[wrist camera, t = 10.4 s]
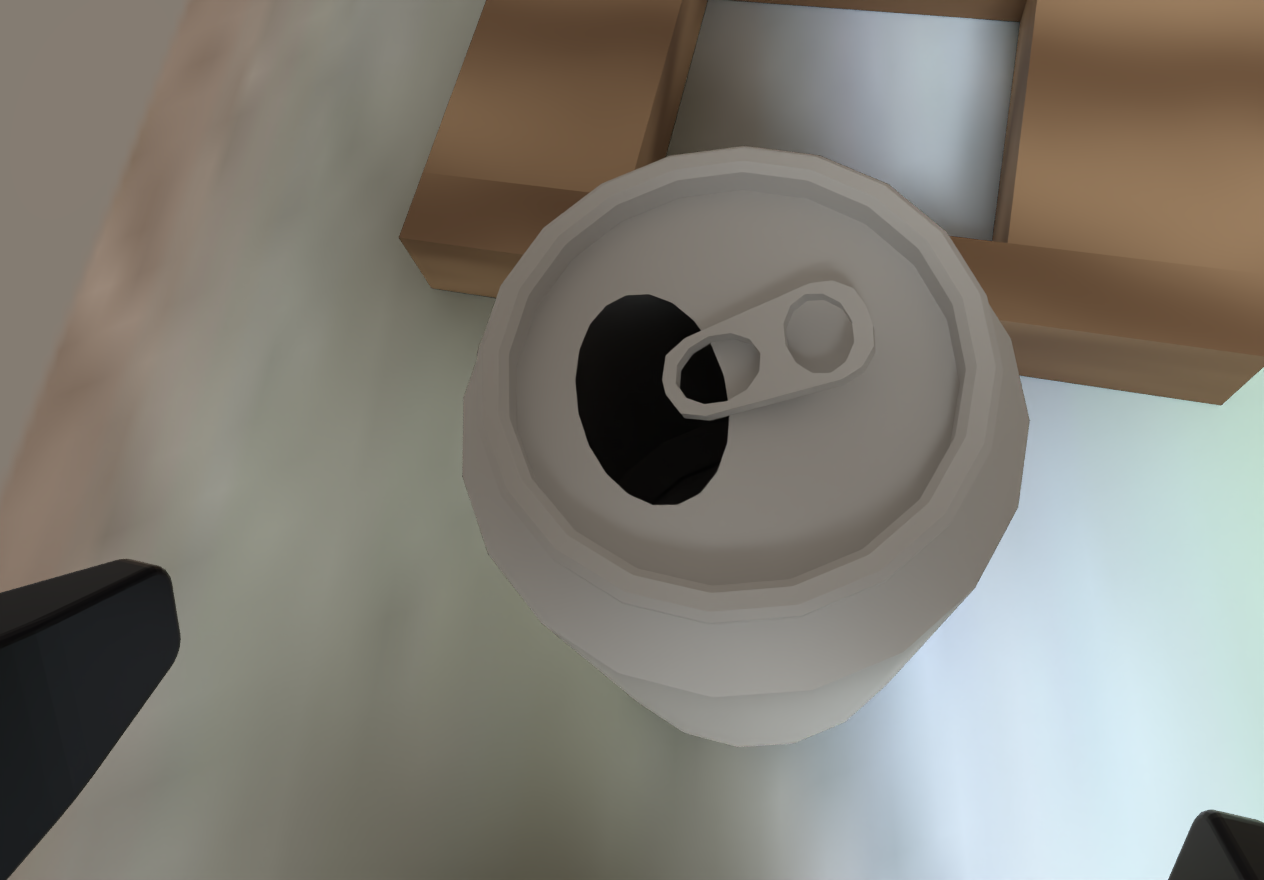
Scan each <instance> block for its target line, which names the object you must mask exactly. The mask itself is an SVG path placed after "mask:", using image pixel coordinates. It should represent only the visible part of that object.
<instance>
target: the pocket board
mask: <svg viewBox="0 0 1264 880" xmlns="http://www.w3.org/2000/svg"><path fill="white" fill-rule="evenodd" d="M707 1H708V0H486V2H485V5H484V8H483V11H482V13H481V16H480V19H479V21H478V24H477V27H476V30H475V32H474V35H473V38H472V40H471V43H470V46H469V49H468V51H467V54H466V57H465V59H464V62H463V65H462V68H461V70H460V73H459V76H458V78H457V81H456V84H455V87H454V89H453V92H452V95H451V97H450V100H449V103H448V106H447V108H446V111H445V114H444V116H443V119H442V122H441V125H440V127H439V130H438V133H437V135H436V138H435V141H434V144H433V146H432V149H431V152H430V154H429V157H428V160H427V163H426V165H425V168H424V171H423V173H422V176H421V179H420V182H419V184H418V187H417V190H416V192H415V195H414V198H413V200H412V203H411V206H410V209H409V211H408V214H407V217H406V219H405V222H404V225H403V228H402V230H401V233H400V236H399V239H400V240H401V242H402V243H403V245H404V246H405V248H406V249H407V251H408V253H409V254H410V256H411V257H412V259H413V260H414V262H415V263H416V265H417V266H418V268H419V270H420V271H421V273H422V274H423V276H424V277H425V279H426V280H427V282H428V283H429V285H430V286H431V288H434V289H441V290H448V291H454V292H461V293H468V294H475V295H481V296H488V297H495V298H496V297H497V294H498V292H499V289H500V286H501V284H502V283H503V282H504V280H505V279H506V278H507V276H508V275H509V274H510V272H511V271H512V270H513V268H514V267H515V265H516V264H517V263H518V261H519V260H520V259H521V257H522V256H523V255H524V253H525V252H526V251H527V249H528V248H529V247H530V245H531V244H532V243H533V241H534V240H535V239H536V237H537V236H538V234H539V233H540V232H541V230H542V229H543V228H544V227H545V226H546V225H548V224H549V223H550V222H552V221H553V220H554V219H556V218H557V217H558V216H560V215H561V214H562V213H564V212H565V211H566V210H567V209H569V208H570V207H571V206H573V205H574V204H575V203H577V202H578V201H579V200H581V199H582V198H583V197H585V196H586V195H587V194H588V193H590V192H591V191H592V190H594V189H595V188H596V187H598V186H599V185H600V184H602V183H604V182H607V181H609V180H612V179H614V178H616V177H619V176H621V175H624V174H626V173H629V172H631V171H634V170H636V169H638V168H641V167H643V166H646V165H648V164H651V163H653V162H656V161H658V160H661V159H663V158H665V157H666V153H667V150H668V146H669V142H670V138H671V135H672V131H673V127H674V124H675V120H676V116H677V112H678V109H679V105H680V101H681V98H682V94H683V90H684V86H685V83H686V79H687V75H688V72H689V68H690V64H691V60H692V57H693V53H694V49H695V46H696V42H697V38H698V34H699V31H700V27H701V23H702V20H703V16H704V12H705V8H706V5H707ZM734 1H747V2H761V3H774V4H788V5H801V6H815V7H828V8H842V9H855V10H868V11H882V12H895V13H909V14H922V15H936V16H949V17H963V18H976V19H990V20H1003V21H1017V22H1020V27H1019V34H1018V42H1017V50H1016V58H1015V66H1014V74H1013V81H1012V89H1011V97H1010V105H1009V113H1008V121H1007V128H1006V136H1005V144H1004V152H1003V160H1002V168H1001V175H1000V183H999V191H998V199H997V207H996V214H995V222H994V230H993V238H992V241H987V240H979V239H970V238H962V237H954V236H949V237H950V238H951V240H952V241H953V243H954V244H955V246H956V248H957V249H958V251H959V252H960V254H961V256H962V257H963V259H964V260H965V262H966V263H967V265H968V267H969V268H970V270H971V271H972V273H973V274H974V276H975V278H976V279H977V281H978V282H979V284H980V286H981V287H982V289H983V290H984V292H985V293H986V295H987V298H988V303H989V305H990V306H991V308H992V310H993V311H994V313H995V314H996V316H997V317H998V319H999V321H1000V322H1001V324H1002V325H1003V327H1004V329H1005V330H1006V332H1007V333H1008V335H1009V336H1010V338H1011V341H1012V346H1013V350H1014V355H1015V359H1016V363H1017V368H1018V372H1019V375H1020V376H1027V377H1034V378H1041V379H1047V380H1054V381H1061V382H1068V383H1074V384H1081V385H1088V386H1095V387H1101V388H1108V389H1115V390H1121V391H1128V392H1135V393H1142V394H1148V395H1155V396H1162V397H1169V398H1175V399H1182V400H1189V401H1196V402H1202V403H1209V404H1216V405H1222V404H1223V403H1224V402H1225V401H1227V400H1228V399H1229V398H1230V397H1231V396H1232V395H1233V394H1234V393H1235V392H1236V391H1238V390H1239V389H1240V388H1241V387H1242V386H1243V385H1244V384H1245V383H1246V382H1247V381H1249V380H1250V379H1251V378H1252V377H1253V376H1254V375H1255V374H1256V373H1257V372H1259V371H1260V370H1261V369H1262V368H1263V367H1264V0H734Z"/></svg>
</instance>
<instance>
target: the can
mask: <svg viewBox="0 0 1264 880" xmlns="http://www.w3.org/2000/svg"><path fill="white" fill-rule="evenodd" d="M1029 421H1030V420H1029V416H1028V412H1027V407H1026V403H1025V398H1024V394H1023V390H1022V385H1021V381H1020V377H1019V372H1018V368H1017V363H1016V359H1015V355H1014V350H1013V346H1012V341H1011V338H1010V336H1009V335H1008V333H1007V332H1006V330H1005V329H1004V327H1003V325H1002V324H1001V322H1000V321H999V319H998V317H997V316H996V314H995V313H994V311H993V310H992V308H991V306H990V305H989V303H988V298H987V295H986V293H985V292H984V290H983V289H982V287H981V286H980V284H979V282H978V281H977V279H976V278H975V276H974V274H973V273H972V271H971V270H970V268H969V267H968V265H967V263H966V262H965V260H964V259H963V257H962V256H961V254H960V252H959V251H958V249H957V248H956V246H955V244H954V243H953V241H952V240H951V238H950V237H949V235H948V233H947V232H946V231H945V230H944V229H942V228H941V227H940V226H939V225H937V224H936V223H935V222H934V221H933V220H931V219H930V218H929V217H928V216H926V215H925V214H924V213H923V212H922V211H920V210H919V209H918V208H917V207H916V206H914V205H913V204H912V203H911V202H909V201H908V200H907V199H906V198H905V197H903V196H902V195H901V194H900V193H898V192H897V191H896V190H895V189H894V188H892V187H891V186H890V185H889V184H886V183H884V182H882V181H879V180H877V179H874V178H872V177H870V176H867V175H865V174H863V173H860V172H858V171H855V170H853V169H851V168H848V167H846V166H843V165H841V164H839V163H836V162H834V161H831V160H829V159H827V158H824V157H822V156H819V155H813V154H805V153H797V152H789V151H781V150H773V149H765V148H757V147H750V146H739V147H732V148H724V149H716V150H709V151H701V152H694V153H686V154H679V155H671V156H668V157H665V158H663V159H661V160H658V161H656V162H653V163H651V164H648V165H646V166H643V167H641V168H638V169H636V170H634V171H631V172H629V173H626V174H624V175H621V176H619V177H616V178H614V179H612V180H609V181H607V182H604V183H602V184H600V185H599V186H598V187H596V188H595V189H594V190H592V191H591V192H590V193H588V194H587V195H586V196H585V197H583V198H582V199H581V200H579V201H578V202H577V203H575V204H574V205H573V206H571V207H570V208H569V209H567V210H566V211H565V212H564V213H562V214H561V215H560V216H558V217H557V218H556V219H554V220H553V221H552V222H550V223H549V224H548V225H546V226H545V227H544V228H543V229H542V230H541V232H540V233H539V234H538V236H537V237H536V239H535V240H534V241H533V243H532V244H531V245H530V247H529V248H528V249H527V251H526V252H525V253H524V255H523V256H522V257H521V259H520V260H519V261H518V263H517V264H516V265H515V267H514V268H513V270H512V271H511V272H510V274H509V275H508V276H507V278H506V279H505V280H504V282H503V283H502V284H501V286H500V289H499V292H498V294H497V297H496V300H495V303H494V306H493V309H492V312H491V315H490V317H489V320H488V323H487V326H486V329H485V332H484V335H483V338H482V340H481V343H480V346H479V349H478V352H477V360H476V363H475V366H474V369H473V372H472V375H471V377H470V380H469V383H468V386H467V389H466V392H465V395H464V403H463V476H462V477H463V480H464V483H465V486H466V489H467V492H468V495H469V498H470V501H471V504H472V507H473V510H474V513H475V516H476V519H477V522H478V525H479V528H480V531H481V534H482V537H483V540H484V543H485V546H486V549H487V552H488V555H489V556H490V557H491V558H492V560H493V561H494V562H495V564H496V565H497V566H498V568H499V569H500V570H501V571H502V573H503V574H504V575H505V577H506V578H507V579H508V580H509V582H510V583H511V584H512V586H513V587H514V588H515V589H516V591H517V592H518V593H519V595H520V596H521V597H522V598H523V600H524V601H525V602H526V604H527V605H528V606H529V607H530V609H531V610H532V611H533V613H534V614H535V615H536V617H537V618H538V619H539V620H540V622H541V623H542V624H543V625H545V626H546V627H547V628H548V629H549V630H551V631H552V632H553V633H554V634H555V635H557V636H558V637H559V638H560V639H562V640H563V641H564V642H565V643H566V644H568V645H569V646H570V647H571V648H572V649H574V650H575V651H576V652H577V653H578V654H580V655H581V656H582V657H583V658H585V659H586V660H587V661H588V662H589V663H591V664H592V665H593V666H594V667H595V668H597V669H598V670H599V671H600V672H602V673H603V674H604V675H605V676H606V677H608V678H609V679H610V680H611V681H612V682H614V683H615V684H616V685H617V686H619V687H620V688H621V689H622V690H623V691H625V692H626V693H627V694H628V695H629V696H631V697H632V698H633V699H634V700H635V701H637V702H638V703H639V704H641V705H642V706H644V707H645V708H647V709H649V710H650V711H652V712H653V713H655V714H656V715H658V716H659V717H661V718H662V719H664V720H665V721H667V722H668V723H670V724H671V725H673V726H674V727H676V728H677V729H679V730H680V731H682V732H683V733H687V734H690V735H694V736H698V737H702V738H705V739H709V740H713V741H717V742H720V743H724V744H728V745H732V746H735V747H748V746H763V745H779V744H794V743H796V742H799V741H801V740H804V739H806V738H808V737H811V736H813V735H815V734H818V733H820V732H823V731H825V730H827V729H830V728H832V727H835V726H837V725H839V724H842V723H844V722H846V721H847V720H848V719H849V718H850V717H852V716H853V715H854V714H855V713H856V712H857V711H858V710H859V709H860V708H862V707H863V706H864V705H865V704H866V703H867V702H868V701H869V700H870V699H872V698H873V697H874V696H875V695H876V694H877V693H878V692H879V691H880V690H882V689H883V688H884V687H885V686H886V685H887V684H888V683H889V682H890V681H891V680H892V678H893V677H894V676H895V675H896V674H897V673H898V672H899V671H900V670H901V669H902V668H903V666H904V665H905V664H906V663H907V662H908V661H909V660H910V659H911V658H912V657H913V655H914V654H915V653H916V652H917V651H918V650H919V649H920V648H921V647H922V646H923V644H924V643H925V642H926V641H927V640H928V639H929V638H930V637H931V636H932V635H933V633H934V632H935V631H936V630H937V629H938V628H939V627H940V626H941V625H942V624H943V622H944V621H945V620H946V619H947V618H948V617H949V616H950V615H951V614H952V613H953V611H954V610H955V609H956V608H957V607H958V606H959V605H960V604H961V603H962V602H963V601H964V599H965V598H966V597H967V596H968V595H969V594H970V593H971V592H972V591H973V590H974V588H975V587H976V585H977V583H978V581H979V579H980V578H981V576H982V574H983V572H984V570H985V568H986V566H987V564H988V563H989V561H990V559H991V557H992V555H993V553H994V551H995V549H996V548H997V546H998V544H999V542H1000V540H1001V538H1002V536H1003V534H1004V533H1005V531H1006V529H1007V527H1008V525H1009V523H1010V521H1011V520H1012V518H1013V516H1014V514H1015V512H1016V510H1017V508H1018V504H1019V496H1020V489H1021V481H1022V474H1023V466H1024V459H1025V451H1026V444H1027V436H1028V429H1029Z"/></svg>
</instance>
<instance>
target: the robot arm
mask: <svg viewBox="0 0 1264 880" xmlns="http://www.w3.org/2000/svg"><path fill="white" fill-rule="evenodd" d="M180 640H181V638H180V629H179V623H178V617H177V611H176V605H175V599H174V592H173V586H172V581H171V578H170V576H169V574H168V573H167V571H166V570H165V569H163V568H162V567H160V566H157V565H153V564H149V563H144V562H140V561H136V560H130V559H120V560H115V561H112V562H108V563H105V564H101V565H98V566H94V567H90V568H87V569H83V570H80V571H76V572H73V573H69V574H66V575H62V576H58V577H55V578H51V579H48V580H44V581H41V582H37V583H34V584H30V585H27V586H23V587H19V588H16V589H12V590H9V591H5V592H2V593H0V880H7V879H8V878H9V877H10V876H11V874H12V873H13V872H14V871H15V870H16V869H17V867H18V866H19V865H20V864H21V863H22V862H23V860H24V859H25V858H26V857H27V856H28V855H29V854H30V852H31V851H32V850H33V849H34V848H35V847H36V845H37V844H38V843H39V842H40V841H41V840H42V838H43V837H44V836H45V835H46V834H47V833H48V831H49V830H50V829H51V828H52V827H53V826H54V824H55V823H56V822H57V821H58V820H59V819H60V817H61V816H62V815H63V814H64V812H65V811H66V810H67V809H68V808H69V806H70V805H71V804H72V803H73V802H74V800H75V799H76V798H77V796H78V795H79V794H80V792H81V791H82V790H83V788H84V787H85V786H86V784H87V783H88V782H89V780H90V779H91V778H92V777H93V775H94V774H95V772H96V771H97V770H98V768H99V767H100V765H101V764H102V763H103V761H104V760H105V758H106V757H107V756H108V754H109V753H110V751H111V750H112V749H113V747H114V746H115V744H116V743H117V742H118V740H119V739H120V737H121V736H122V735H123V733H124V732H125V730H126V729H127V728H128V726H129V725H130V723H131V722H132V721H133V719H134V718H135V716H136V715H137V714H138V712H139V711H140V710H141V708H142V707H143V705H144V704H145V703H146V701H147V700H148V698H149V697H150V696H151V694H152V693H153V691H154V690H155V689H156V687H157V686H158V684H159V683H160V682H161V680H162V679H163V677H164V676H165V675H166V673H167V672H168V670H169V669H170V668H171V666H172V665H173V663H174V661H175V659H176V657H177V654H178V651H179V648H180ZM1168 880H1264V823H1263V822H1261V821H1258V820H1255V819H1251V818H1247V817H1242V816H1238V815H1234V814H1229V813H1225V812H1221V811H1216V810H1207V811H1203V812H1201V813H1200V814H1199V815H1198V816H1197V817H1196V819H1195V820H1194V822H1193V823H1192V826H1191V828H1190V830H1189V833H1188V835H1187V837H1186V840H1185V842H1184V844H1183V846H1182V849H1181V851H1180V853H1179V856H1178V858H1177V860H1176V863H1175V865H1174V867H1173V869H1172V872H1171V874H1170V876H1169V879H1168Z"/></svg>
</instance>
